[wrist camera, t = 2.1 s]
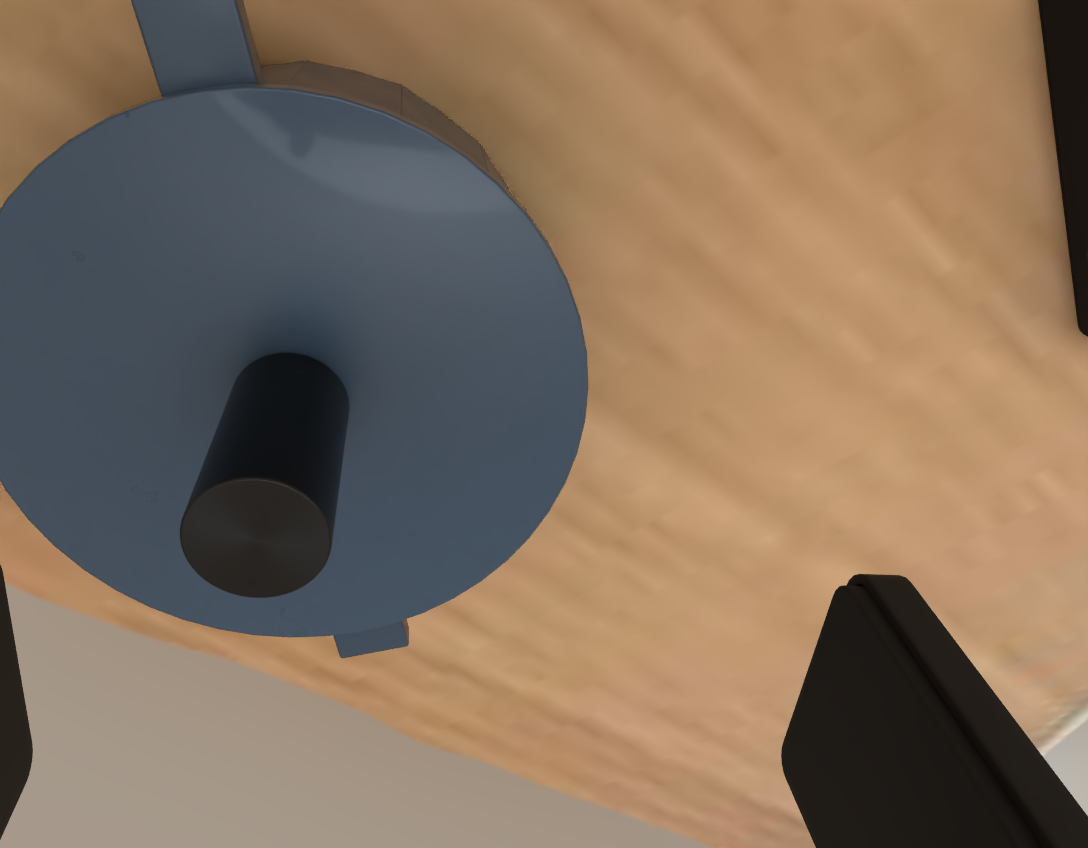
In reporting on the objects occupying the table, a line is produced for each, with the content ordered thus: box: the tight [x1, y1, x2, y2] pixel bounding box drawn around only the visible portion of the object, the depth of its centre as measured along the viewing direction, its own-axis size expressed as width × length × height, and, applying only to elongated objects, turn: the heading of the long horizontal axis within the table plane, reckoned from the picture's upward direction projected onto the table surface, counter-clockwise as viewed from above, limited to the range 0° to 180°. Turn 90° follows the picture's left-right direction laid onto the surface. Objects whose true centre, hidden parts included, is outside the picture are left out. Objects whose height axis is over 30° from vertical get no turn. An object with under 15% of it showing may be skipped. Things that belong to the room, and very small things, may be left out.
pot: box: [131, 0, 509, 658], centre depth 30 cm, size 16×21×8 cm
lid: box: [0, 83, 588, 637], centre depth 23 cm, size 17×17×8 cm
